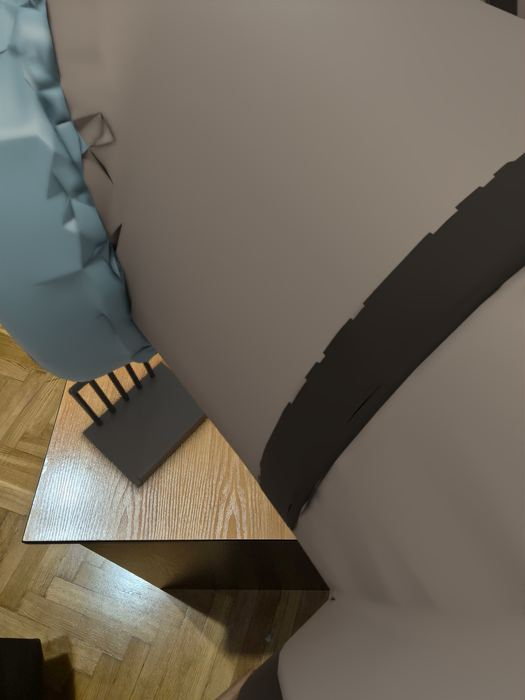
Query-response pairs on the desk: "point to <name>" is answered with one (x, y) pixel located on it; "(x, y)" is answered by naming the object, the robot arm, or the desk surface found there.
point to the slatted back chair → (142, 420)
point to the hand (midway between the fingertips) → (355, 424)
